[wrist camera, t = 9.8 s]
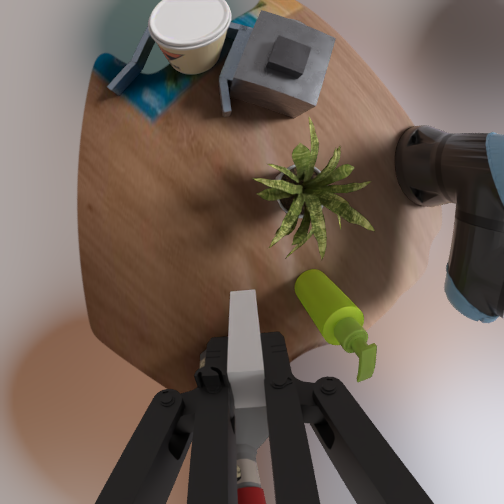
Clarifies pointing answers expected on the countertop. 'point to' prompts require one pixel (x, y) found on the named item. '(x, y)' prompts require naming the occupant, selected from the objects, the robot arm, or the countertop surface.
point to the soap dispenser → (336, 318)
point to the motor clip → (260, 65)
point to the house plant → (311, 194)
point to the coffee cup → (190, 32)
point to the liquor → (248, 449)
